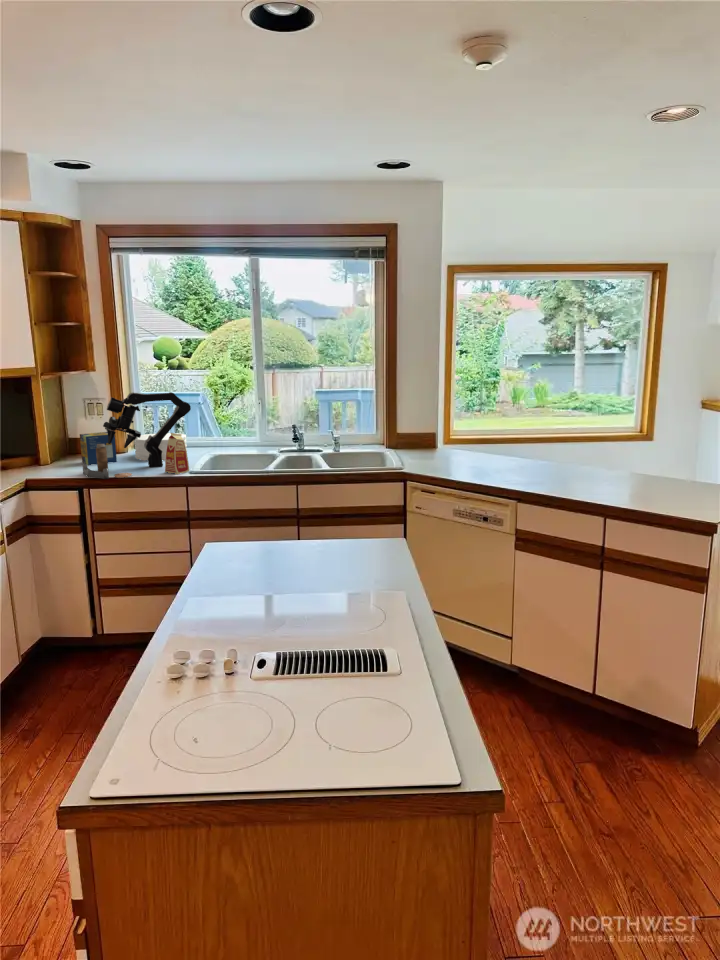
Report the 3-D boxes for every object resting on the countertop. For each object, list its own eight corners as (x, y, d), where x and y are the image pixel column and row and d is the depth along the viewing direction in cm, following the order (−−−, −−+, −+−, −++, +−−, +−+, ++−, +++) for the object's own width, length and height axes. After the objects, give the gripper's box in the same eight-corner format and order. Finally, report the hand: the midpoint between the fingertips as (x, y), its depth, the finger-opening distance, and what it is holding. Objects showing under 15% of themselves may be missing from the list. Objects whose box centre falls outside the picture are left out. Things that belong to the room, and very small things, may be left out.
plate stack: (157, 451, 378) (156, 432, 376) (197, 454, 368) (196, 434, 366) (124, 459, 353) (123, 438, 350) (166, 462, 343) (164, 441, 340)
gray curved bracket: (86, 473, 315) (85, 463, 314) (109, 478, 302) (108, 468, 301) (77, 474, 311) (76, 465, 310) (100, 480, 299) (99, 470, 298)
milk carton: (177, 474, 311) (174, 433, 306) (164, 472, 316) (161, 432, 311) (191, 471, 318) (188, 431, 314) (178, 469, 323) (175, 430, 319)
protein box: (81, 462, 342) (79, 434, 339) (111, 459, 352) (108, 431, 348) (87, 465, 334) (85, 436, 331) (117, 462, 344) (115, 433, 340)
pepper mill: (109, 471, 318) (106, 443, 315) (107, 473, 314) (104, 444, 311) (99, 471, 317) (96, 443, 314) (97, 473, 313) (94, 445, 310)
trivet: (133, 474, 312) (132, 472, 312) (130, 477, 304) (130, 475, 304) (115, 474, 310) (115, 473, 310) (113, 478, 303) (112, 476, 302)
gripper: (134, 417, 333) (124, 445, 334) (102, 408, 318) (92, 437, 318) (146, 422, 327) (135, 451, 327) (114, 413, 311) (103, 443, 312)
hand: (116, 445), depth 321 cm, fingers open, 9 cm apart
